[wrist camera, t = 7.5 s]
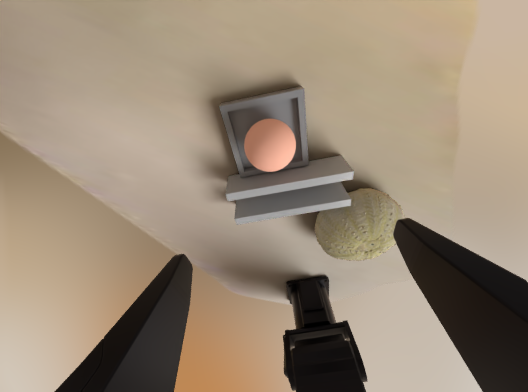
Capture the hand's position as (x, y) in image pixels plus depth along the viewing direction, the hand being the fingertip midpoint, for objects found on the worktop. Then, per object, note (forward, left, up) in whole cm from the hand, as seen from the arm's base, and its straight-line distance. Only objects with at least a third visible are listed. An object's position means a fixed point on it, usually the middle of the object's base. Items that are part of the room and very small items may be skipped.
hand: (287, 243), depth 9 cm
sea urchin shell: (-11, -8, -12) cm, 19 cm away
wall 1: (-4, -1, -12) cm, 12 cm away
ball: (0, 0, -12) cm, 12 cm away
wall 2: (-7, -1, -12) cm, 14 cm away
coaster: (0, 0, -12) cm, 12 cm away
